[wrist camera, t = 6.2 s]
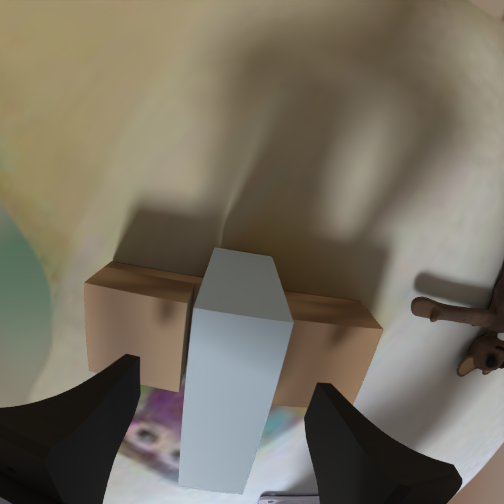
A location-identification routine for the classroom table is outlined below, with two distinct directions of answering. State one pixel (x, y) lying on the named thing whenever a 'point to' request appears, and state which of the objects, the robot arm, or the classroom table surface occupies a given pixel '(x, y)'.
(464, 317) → the brown monkey toy
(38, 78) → the classroom table surface
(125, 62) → the classroom table surface
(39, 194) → the classroom table surface
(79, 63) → the classroom table surface
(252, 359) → the pale grey-blue block
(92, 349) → the brown u-shaped block
